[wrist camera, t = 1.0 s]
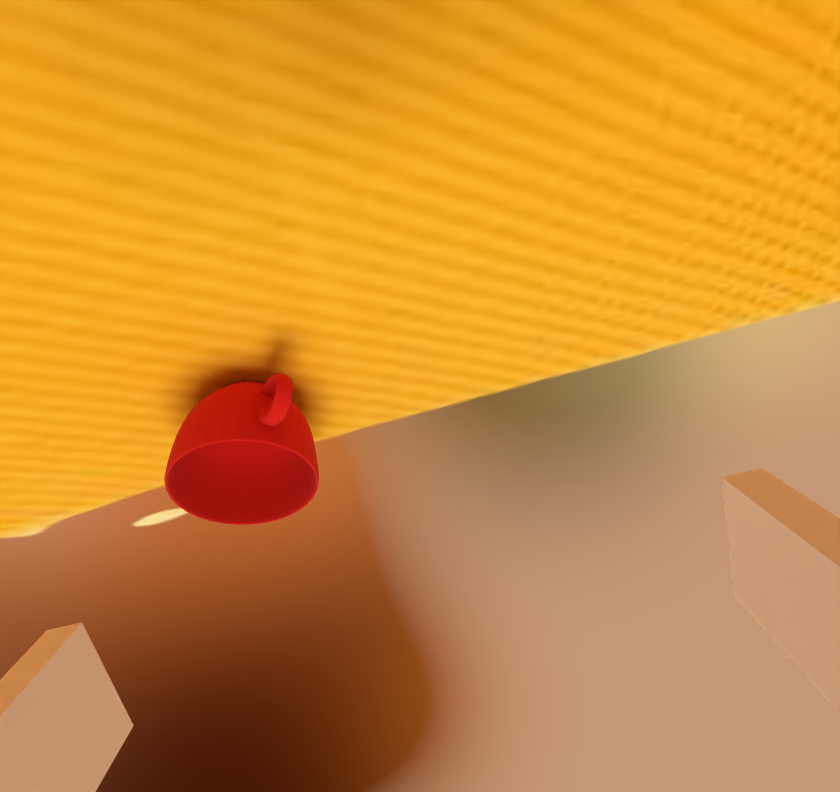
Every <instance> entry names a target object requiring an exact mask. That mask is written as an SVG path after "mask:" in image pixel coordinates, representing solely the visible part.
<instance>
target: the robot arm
mask: <svg viewBox="0 0 840 792" xmlns="http://www.w3.org/2000/svg"><path fill="white" fill-rule="evenodd" d="M722 484H723V494H724V505H725V515H726V525H727V535H728V545H729V555H730V565H731V574H732V585H733V595H734V597H735V599H736V600H737V601H738V602H739V603H740V604H741V605H742V606H743V607H744V609H745V610H746V611H747V612H748V613H749V614H750V615H751V616H752V617H753V619H754V620H755V621H756V622H757V623H758V624H759V625H760V626H761V627H762V628H763V630H765V632H766V633H767V634H768V635H769V636H770V637H771V638H772V640H774V642H775V643H776V644H777V645H778V646H779V647H780V648H781V649H782V650H783V652H784V653H785V654H786V655H787V656H788V657H789V658H790V659H791V660H792V661H793V663H794V664H795V665H796V666H797V667H798V668H799V669H800V670H801V671H802V673H803V674H804V675H805V676H806V677H807V678H808V679H809V680H810V681H811V683H813V685H814V686H815V687H816V688H817V689H818V690H819V691H820V692H821V694H822V695H824V697H825V698H826V699H827V700H828V701H829V702H830V704H832V706H833V707H834V708H835V709H836V710H837V711H838V712H839V713H840V519H839V518H838V517H836V516H834V515H833V514H831V513H830V512H828V511H826V510H825V509H824V508H822V507H821V506H819V505H817V504H816V503H814V502H813V501H811V500H810V499H808V498H807V497H805V496H804V495H802V494H801V493H799V492H798V491H796V490H794V489H793V488H791V487H790V486H788V485H787V484H785V483H784V482H782V481H781V480H779V479H777V478H776V477H774V476H773V475H771V474H770V473H768V472H767V471H765V470H763V469H762V468H761V469H756V470H752V471H748V472H743V473H739V474H735V475H730V476H726V477H722ZM132 727H133V724H132V722H131V720H130V718H129V716H128V714H127V712H126V710H125V708H124V706H123V704H122V702H121V700H120V698H119V696H118V694H117V692H116V690H115V688H114V686H113V684H112V682H111V680H110V678H109V676H108V674H107V672H106V670H105V668H104V666H103V664H102V662H101V660H100V658H99V656H98V654H97V652H96V650H95V648H94V646H93V644H92V642H91V640H90V638H89V636H88V634H87V632H86V630H85V628H84V626H83V624H82V623H78V624H73V625H69V626H64V627H60V628H56V629H51V630H47V631H46V632H45V633H44V634H43V635H42V636H41V637H40V638H39V640H37V642H36V643H35V644H34V645H33V646H32V647H31V648H30V649H29V650H28V651H27V652H26V654H24V656H22V657H21V659H20V660H19V661H18V662H17V663H16V664H15V665H14V666H13V667H12V668H11V669H10V670H9V671H8V672H7V673H6V675H5V676H4V677H3V678H2V679H1V680H0V792H95V791H96V790H97V788H98V786H99V784H100V783H101V781H102V779H103V778H104V776H105V774H106V772H107V770H108V769H109V767H110V765H111V764H112V762H113V760H114V758H115V757H116V755H117V753H118V751H119V749H120V748H121V746H122V744H123V743H124V741H125V739H126V737H127V736H128V734H129V732H130V730H131V729H132Z"/></svg>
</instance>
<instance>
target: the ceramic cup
mask: <svg viewBox="0 0 840 792" xmlns="http://www.w3.org/2000/svg"><path fill="white" fill-rule="evenodd" d="M292 393H293V384H292V380H291V379H290V378H289V377H288V376H286V375H284V374H274V375H272V376H271V377H270V378H269V379H268V380H267V381H266V383H265V384H264V383H262V382H256V381H240V382H236V383H233V384H230V385H228V386H226V387H224V388H221V389H219V390H217V391H215V392H213V393H212V394H210V395H208V396H207V397H205V398H204V399H203V400H202V401H201V402H199V403H198V404H197V405H196V406H195V407H194V409H193V410H192V411H191V412H190V413H189V414H188V416H187V418H186V419H185V421H184V423H183V424H182V426H181V428H180V430H179V432H178V434H177V436H176V439H175V441H174V444H173V447H172V450H171V453H170V456H169V460H168V463H167V468H166V473H165V479H164V480H165V486H166V490H167V492H168V494H169V496H170V498H171V499H172V500H173V501H174V502H175V503H176V504H177V505H178V506H179V507H181V508H182V509H184V510H185V511H187V512H188V513H191V514H193V515H195V516H197V517H200V518H203V519H206V520H209V521H213V522H218V523H225V524H236V525H241V524H243V525H246V524H259V523H266V522H270V521H274V520H278V519H281V518H284V517H287V516H289V515H291V514H293V513H295V512H297V511H299V510H300V509H301V508H303V507H304V506H306V505H307V504H308V503H309V502H310V501H311V499H312V498H313V497H314V495H315V493H316V491H317V487H318V481H319V475H318V465H317V458H316V451H315V446H314V440H313V436H312V433H311V430H310V428H309V425H308V423H307V421H306V419H305V417H304V415H303V414H302V412H301V411H300V410H299V408H298V407H297V406H296V405H295V404H294V403H293V402H292V401H291V399H292Z"/></svg>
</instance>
